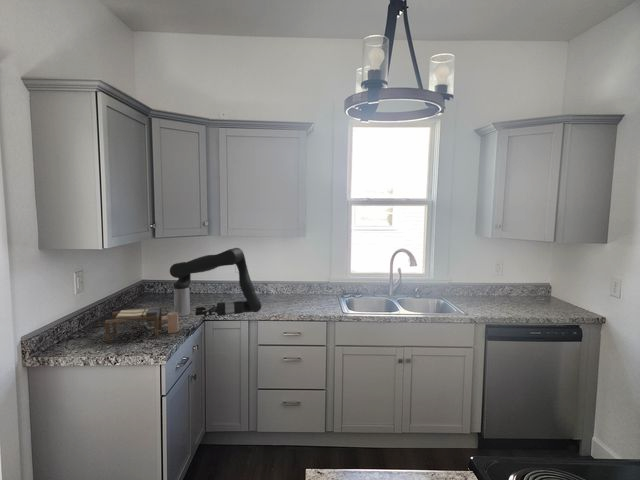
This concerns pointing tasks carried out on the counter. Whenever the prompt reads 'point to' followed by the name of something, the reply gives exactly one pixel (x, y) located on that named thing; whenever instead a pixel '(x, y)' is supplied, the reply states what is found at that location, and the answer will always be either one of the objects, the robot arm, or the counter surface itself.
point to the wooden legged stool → (107, 326)
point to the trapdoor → (139, 313)
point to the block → (172, 322)
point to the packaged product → (164, 322)
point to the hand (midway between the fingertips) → (195, 311)
